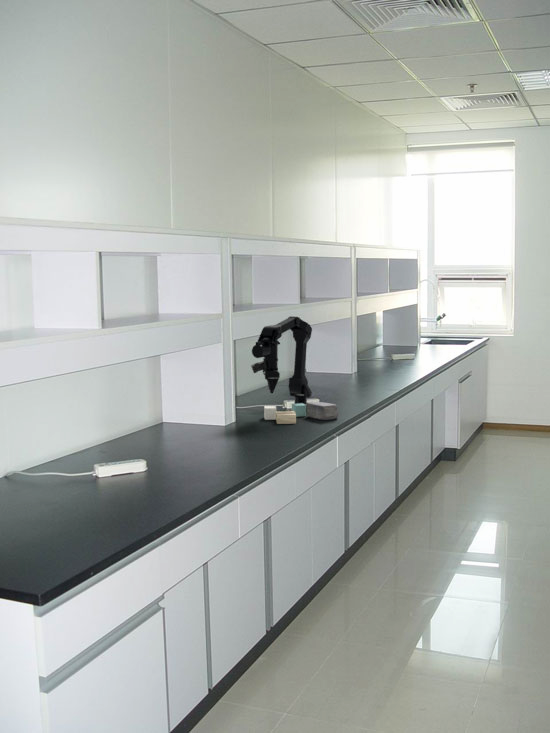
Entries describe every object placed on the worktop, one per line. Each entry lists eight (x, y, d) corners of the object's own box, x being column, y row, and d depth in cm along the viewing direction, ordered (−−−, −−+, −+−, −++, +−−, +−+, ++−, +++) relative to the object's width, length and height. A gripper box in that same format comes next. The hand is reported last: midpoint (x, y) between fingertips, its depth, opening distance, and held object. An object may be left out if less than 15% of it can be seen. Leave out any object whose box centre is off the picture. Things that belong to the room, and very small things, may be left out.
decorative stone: (332, 422, 345) (341, 417, 354) (332, 406, 344) (341, 402, 353) (301, 419, 352) (310, 414, 361) (301, 404, 351) (310, 399, 360)
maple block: (276, 420, 349) (276, 411, 349) (294, 420, 350) (294, 411, 349) (277, 424, 342) (277, 415, 341) (296, 424, 342) (296, 414, 341)
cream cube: (264, 417, 355) (264, 406, 354) (275, 417, 355) (275, 406, 354) (264, 419, 350) (264, 408, 349) (276, 419, 350) (276, 408, 350)
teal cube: (291, 414, 361) (291, 403, 360) (302, 414, 362) (302, 403, 362) (295, 416, 356) (295, 405, 355) (306, 416, 358) (306, 405, 357)
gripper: (251, 353, 357) (251, 388, 359) (253, 358, 339) (253, 395, 341) (276, 352, 358) (276, 387, 360) (279, 358, 340) (279, 395, 342)
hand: (270, 391), depth 351 cm, fingers open, 9 cm apart
